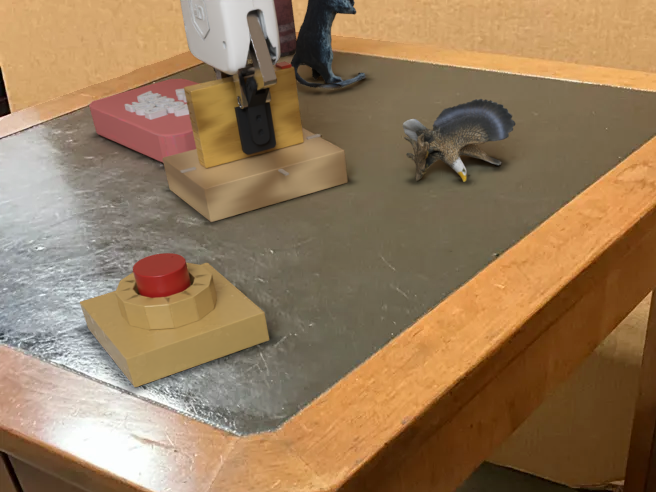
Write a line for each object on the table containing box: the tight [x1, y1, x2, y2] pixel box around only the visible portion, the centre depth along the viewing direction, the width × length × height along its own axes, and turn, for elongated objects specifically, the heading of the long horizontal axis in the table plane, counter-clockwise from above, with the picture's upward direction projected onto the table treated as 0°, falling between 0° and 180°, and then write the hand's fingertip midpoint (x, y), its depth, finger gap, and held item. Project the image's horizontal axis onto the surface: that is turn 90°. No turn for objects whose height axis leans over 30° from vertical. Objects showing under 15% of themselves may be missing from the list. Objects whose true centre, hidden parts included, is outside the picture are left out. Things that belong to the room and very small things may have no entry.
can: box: [274, 0, 297, 58], centre depth 116 cm, size 5×5×12 cm
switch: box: [79, 261, 270, 388], centre depth 63 cm, size 10×10×4 cm
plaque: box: [88, 78, 200, 163], centre depth 96 cm, size 18×4×15 cm
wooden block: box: [184, 60, 304, 168], centre depth 81 cm, size 10×2×7 cm, turn 123°
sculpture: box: [290, 0, 367, 90], centre depth 103 cm, size 8×11×15 cm
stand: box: [162, 127, 349, 223], centre depth 84 cm, size 14×14×3 cm
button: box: [132, 252, 191, 298], centre depth 61 cm, size 4×4×2 cm
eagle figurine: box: [402, 98, 517, 183], centre depth 82 cm, size 8×7×9 cm
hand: (253, 145), depth 82 cm, fingers closed
